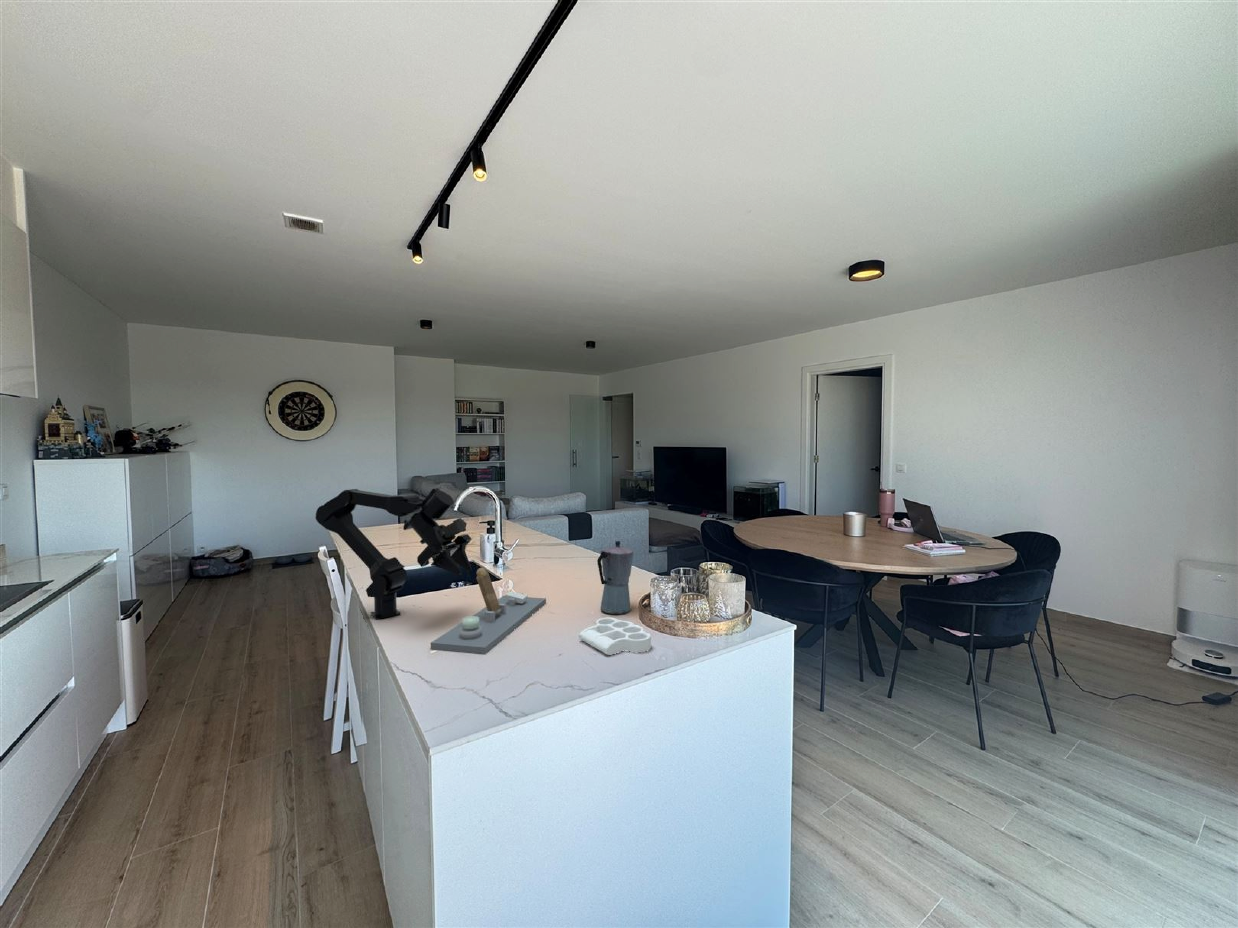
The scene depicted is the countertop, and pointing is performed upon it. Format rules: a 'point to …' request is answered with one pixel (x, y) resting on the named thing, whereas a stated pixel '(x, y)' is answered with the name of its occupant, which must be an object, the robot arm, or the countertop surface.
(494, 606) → the walnut lever
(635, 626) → the white compartment tray
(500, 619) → the switch panel
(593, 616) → the countertop surface
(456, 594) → the countertop surface
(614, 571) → the moka pot
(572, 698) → the countertop surface
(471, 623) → the sage button
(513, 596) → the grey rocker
